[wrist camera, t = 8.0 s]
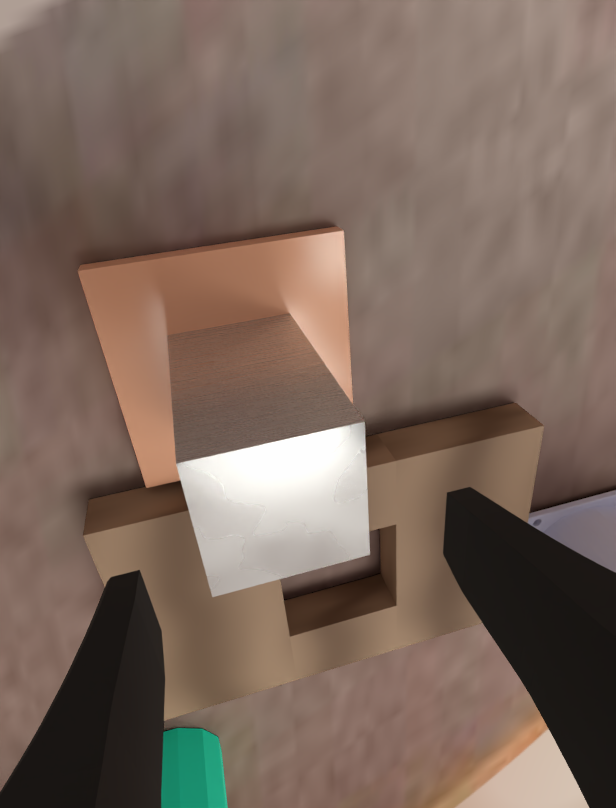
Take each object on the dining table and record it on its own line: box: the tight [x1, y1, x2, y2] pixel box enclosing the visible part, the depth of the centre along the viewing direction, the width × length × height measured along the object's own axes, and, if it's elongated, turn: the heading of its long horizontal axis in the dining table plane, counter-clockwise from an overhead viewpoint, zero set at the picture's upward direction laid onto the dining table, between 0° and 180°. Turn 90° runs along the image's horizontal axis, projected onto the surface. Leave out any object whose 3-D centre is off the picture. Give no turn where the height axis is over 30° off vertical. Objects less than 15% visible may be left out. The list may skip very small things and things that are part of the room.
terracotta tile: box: [78, 226, 353, 488], centre depth 20 cm, size 9×9×1 cm
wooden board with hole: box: [83, 403, 544, 721], centre depth 26 cm, size 20×13×2 cm, turn 95°
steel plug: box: [167, 313, 370, 597], centre depth 17 cm, size 4×4×8 cm
